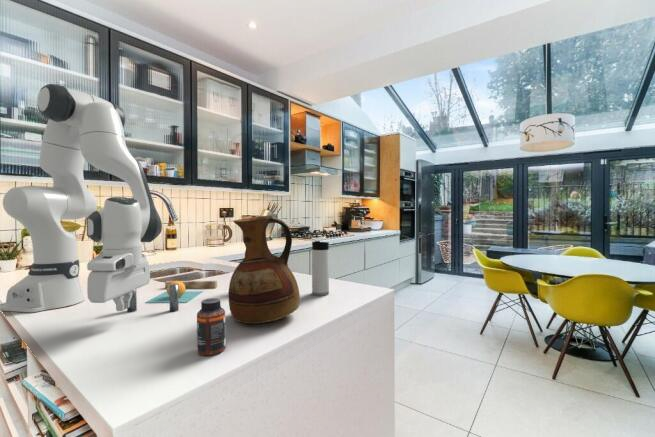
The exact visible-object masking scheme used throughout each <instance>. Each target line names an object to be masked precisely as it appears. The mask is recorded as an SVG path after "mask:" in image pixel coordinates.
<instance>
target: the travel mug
mask: <svg viewBox="0 0 655 437" xmlns="http://www.w3.org/2000/svg"><path fill="white" fill-rule="evenodd" d="M329 243H330V242H328V241H320V240H314V241H311V294H312V295H313V296H317V297H325V296H327V295H329V294H330V249H329V246H330V245H329Z"/></svg>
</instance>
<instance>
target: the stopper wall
mask: <svg viewBox="0 0 655 437" xmlns="http://www.w3.org/2000/svg"><path fill="white" fill-rule="evenodd" d="M173 281H174V280H167V281H165V282H164V289H167V287H168V285H169V284H170V283H171V282H173ZM179 281H180V282H182V283H183V284H184V285H185V289H217V288H218V280H179Z"/></svg>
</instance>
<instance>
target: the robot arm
mask: <svg viewBox="0 0 655 437" xmlns="http://www.w3.org/2000/svg"><path fill="white" fill-rule="evenodd" d="M36 101H37V102H36V104H37V109H38V111H39V112H40V114H41V116H43V117H45V118H46V119H48V121H47V123H46V124H45V125H46V126H45V129H44V131H43V135H42V136H43V137H42V140H41V145H40V146H41V147H40V151H39V152H40V153H39V157H38V158H39V159H38V165H39V167H40V168H41V169H42V170H43V171H44V172H45V173H46V174H48V175H50V177H51V179H52V182H53V184H52V185H53V186H45V185H43V186H42V185H25V186H24V185H23V186H16V187H11V188H10V189H8V191H7V192H6V193H5V194H4V196H3V197H2V208H3V209H4V211H5V213H6V214H8V216H9V217H11V218H12V219H14V220H16V221H17V222H19V223H20V224H21V225H22V226H23V227H24V228H25V230H26V231H27V232H28V235H29V236H30V240H31V243H32V244H31V245H32V256H33V257H32V258H33V263H31V265H24V267H25V268H24V270H28V273H27V275H26V276H24V277H23V278H22V279H21V280H19V281H18V282H16V283H15V284H14V285H12V286H10V287H9V289H8V290H7V293H6V297H5V302H3V303H1V304H0V311H1V312H3V311H5V312H21V313H36V312H42V311H47V310H53V309H59V308H60V309H61V308H63V307H64V308H65V307H68V306H72V305H76V304H80V303H82V302H84V301H85V297H84V295H83V291H82V287H81V282H80V275H79V274H80V259H78V239H77V237H76V235H74V234H73V233H71V232H69V231H67V230H65V228H64V227H63V225H62V223H61V221H62V220H63V221H64V220H67V221H68V220H78V219H84V218H86V236H87V237H88V238H89V239H90V240H92V241H93V242H95V243H99V244H102V252H101V253H98V255H97V256H95V257H94V258H92V259H91V260H89V261H88V262H87V263H86V269H87V271H89V273H88V276H87V282H86V284H87V286H86V287H87V288H86V290H87V291H86V292H87V299H88V300H89V302H90V303H93V304H105V303H106V302H109V301H111V300H112V301H113V302H114V305H115V310H116V311H117V312H123V311H125V310H127V308H129V307H130V300H131V297H132V295H133V290H135V289H136V290H138V289H139V288H142V287H145V286H147V285H148V284H150V280H151V273H150V272H151V271H150V264H149V261H148V259H147V257H146V255H145V254H144V253H143V243H151V242H153V241H155V239H157V237H159V235H160V234H161V233H162V229H163V225H162V224H163V222H162V219H161V216H160V214H159V213H158V211H157V208H156V206H155V202H154V199H153V196H152V193H151V190H150V187H149V182H148V180H147V177H146V175H145V172H144V168H143V166H142V164H141V162H140V161H139V160H138V159H136V158H134V156H133V155H132V153H131V152H130V150H129V148H128V146H127V144H126V136H125V130H124V127H125V124H126V114H125V111H124V109H123V108H122V107H121V106H120V105H118V104H116V103H114V102H112V101H108V100H106V99H104V98H102V97H99V96H97V95H94V94H92V93H88V92H87V93H86V92H84V91H80V90H77V89H73V88H68V87H65V85H60V84H56V83H55V84H54V83H48V84H46V85H43V86H42V87H41V88H40V90H39V93H38V94H37V98H36ZM85 161H86V162H87V163H89V164H90V165H91V166H92V167H94V168H95V169H98V170H99V171H102V172H104V173H107V174H110V175H113V176H115V177H117V178H119V179H120V180H122V181H123V182H125V183H126V184H127V185H128V187H129V188H130V191H131V193H132V198H130V197H125V196H123V197H122V196H114V197H113V196H112V197H108V198H106V199H105V200H104V204H103V207H102V208H101V209H98V201H97V197H96V196H95V195H94V193H93V192H91V191H90V190H89V188H88V187H87V184H86V181H85V178H84V167H85Z"/></svg>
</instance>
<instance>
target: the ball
mask: <svg viewBox="0 0 655 437" xmlns="http://www.w3.org/2000/svg"><path fill="white" fill-rule="evenodd" d="M172 281H173V282H171V283H170V284H169V285H171V284H178V298H179V297H181V296H182V295H183V294H184V293H185V291H186V288H185V285H184V284H183V283H182V282H180V281H181V280H172ZM169 285H168V287H167V288H166V292H167V294H168V295H169Z"/></svg>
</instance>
